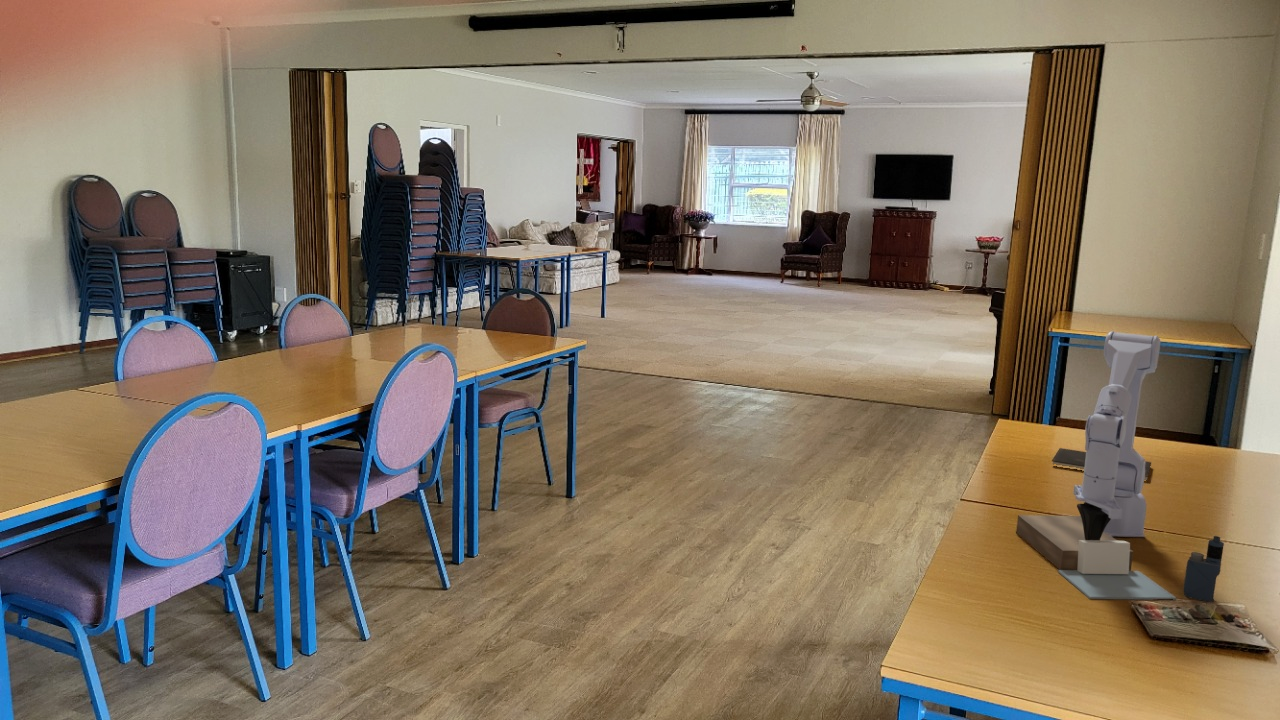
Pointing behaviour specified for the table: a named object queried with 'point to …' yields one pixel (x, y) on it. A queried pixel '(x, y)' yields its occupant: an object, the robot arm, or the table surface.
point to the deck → (1057, 538)
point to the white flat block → (1103, 557)
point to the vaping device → (1203, 572)
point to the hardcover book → (1081, 459)
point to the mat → (1116, 585)
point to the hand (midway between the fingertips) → (1091, 541)
